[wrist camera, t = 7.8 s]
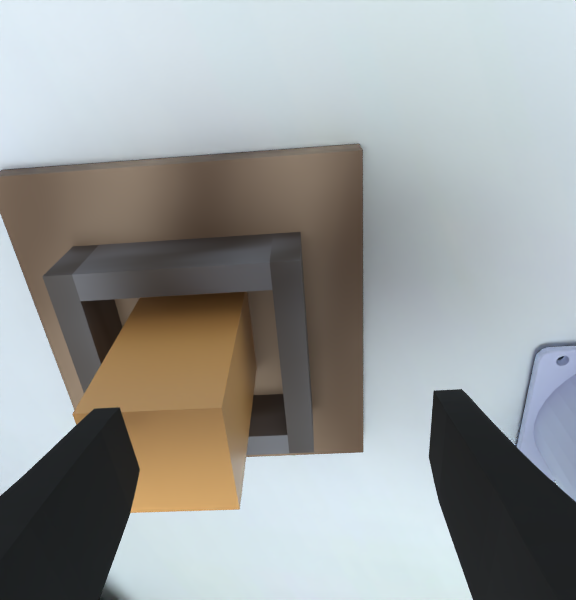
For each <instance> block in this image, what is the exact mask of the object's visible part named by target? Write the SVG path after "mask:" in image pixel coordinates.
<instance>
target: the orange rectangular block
mask: <svg viewBox="0 0 576 600" xmlns="http://www.w3.org/2000/svg"><path fill="white" fill-rule="evenodd" d="M256 371H257V365H256V357H255V349H254V341H253V333H252V325H251V317H250V309H249V301H248V293H247V292H230V293H213V294H196V295H179V296H162V297H145V298H139V300H138V302H137V304H136V305H135V307H134V309H133V311H132V312H131V314H130V316H129V317H128V319H127V321H126V323H125V324H124V326H123V328H122V329H121V331H120V333H119V335H118V336H117V338H116V340H115V342H114V343H113V345H112V347H111V348H110V350H109V352H108V354H107V355H106V357H105V359H104V361H103V362H102V364H101V366H100V367H99V369H98V371H97V373H96V374H95V376H94V378H93V380H92V381H91V383H90V385H89V386H88V388H87V390H86V392H85V393H84V395H83V397H82V399H81V400H80V402H79V404H78V405H77V407H76V409H75V411H74V412H73V417H74V419H75V422H76V425H77V424H78V423H79V422H80V421H81V420H82V419H83V418H84V417H86V416H87V415H88V414H89V413H90V412H91V411H92V410H93V409H96V408H115V407H120V410H121V413H122V416H123V419H124V422H125V425H126V428H127V431H128V434H129V437H130V440H131V443H132V446H133V449H134V452H135V455H136V458H137V462H138V465H139V468H140V472H139V477H138V482H137V487H136V491H135V496H134V500H133V504H132V508H131V512H130V513H137V512H169V511H202V510H234V509H240V502H241V494H242V486H243V478H244V469H245V461H246V453H247V445H248V437H249V428H250V420H251V412H252V404H253V395H254V387H255V379H256Z"/></svg>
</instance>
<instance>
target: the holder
mask: <svg viewBox="0 0 576 600" xmlns="http://www.w3.org/2000/svg"><path fill="white" fill-rule="evenodd" d="M0 214H1V216H2V219H3V222H4V224H5V227H6V229H7V232H8V235H9V237H10V240H11V243H12V245H13V248H14V251H15V253H16V256H17V259H18V261H19V264H20V267H21V269H22V272H23V275H24V277H25V280H26V283H27V285H28V288H29V291H30V293H31V296H32V299H33V301H34V304H35V306H36V309H37V312H38V314H39V317H40V320H41V322H42V325H43V328H44V330H45V333H46V336H47V338H48V341H49V344H50V346H51V349H52V352H53V354H54V357H55V360H56V362H57V365H58V368H59V370H60V373H61V376H62V378H63V381H64V383H65V386H66V389H67V391H68V394H69V397H70V399H71V402H72V405H73V407H74V410H75V409H76V407H77V405H78V404H79V402H80V400H81V399H82V397H83V395H84V393H85V392H86V390H87V388H88V386H89V385H90V383H91V381H92V380H93V378H94V376H95V374H96V373H97V371H98V369H99V367H100V366H101V364H102V362H103V361H104V359H105V357H106V355H107V354H108V352H109V350H110V348H111V347H112V345H113V343H114V342H115V340H116V338H117V336H118V335H119V333H120V331H121V329H122V328H123V326H124V324H125V323H126V321H127V319H128V317H129V316H130V314H131V312H132V311H133V309H134V307H135V305H136V304H137V302H138V300H139V298H145V297H162V296H179V295H196V294H213V293H230V292H247V293H248V301H249V309H250V317H251V325H252V333H253V341H254V349H255V357H256V365H257V371H256V379H255V387H254V395H253V404H252V412H251V420H250V428H249V437H248V445H247V453H246V457H256V456H281V455H306V454H331V453H356V452H363V150H362V148H361V146H360V144H350V145H336V146H322V147H309V148H295V149H282V150H268V151H254V152H241V153H227V154H214V155H200V156H186V157H173V158H159V159H146V160H132V161H118V162H105V163H91V164H78V165H64V166H50V167H37V168H23V169H10V170H1V171H0Z"/></svg>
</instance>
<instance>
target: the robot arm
mask: <svg viewBox="0 0 576 600" xmlns="http://www.w3.org/2000/svg"><path fill="white" fill-rule="evenodd" d="M561 356H564V357H563V358H562V359H561V360H557V359H558V358H559V357H561ZM429 460H430V464H431V469H432V473H433V478H434V483H435V487H436V491H437V495H438V500H439V503H440V506H441V509H442V512H443V515H444V518H445V521H446V523H447V526H448V529H449V532H450V535H451V538H452V541H453V544H454V547H455V549H456V552H457V555H458V558H459V561H460V564H461V567H462V569H463V572H464V575H465V578H466V581H467V584H468V587H469V589H470V592H471V595H472V598H473V600H576V346H561V347H547V348H544V349H542V350H540V351H539V352H538V353H537V355H536V357H535V361H534V366H533V371H532V376H531V380H530V385H529V390H528V395H527V400H526V404H525V409H524V414H523V419H522V424H521V429H520V433H519V438H518V443H517V447H516V446H515V445H514V444H513V443H512V442H511V441H510V440H509V439H508V438H507V437H506V436H505V435H504V434H503V433H502V432H501V431H500V430H499V428H498V427H497V426H496V425H495V424H494V423H493V422H492V421H491V420H490V419H489V418H488V417H487V416H486V415H485V414H484V412H483V411H482V410H481V409H480V408H479V407H478V406H477V405H476V404H475V403H474V401H473V400H472V399H471V398H470V397H469V396H468V395H467V394H466V393H465V392H464V391H463V390H462V389H459V390H439V391H434V395H433V408H432V422H431V435H430V448H429ZM139 472H140V468H139V465H138V462H137V458H136V455H135V452H134V449H133V446H132V443H131V440H130V437H129V434H128V431H127V428H126V425H125V422H124V419H123V416H122V413H121V410H120V407H115V408H96V409H93V410H92V411H91V412H90V413H89V414H88V415H87V416H86V417H84V418H83V419H82V420H81V421H80V422H79V423H78V424H77V425H76V426H75V427H74V428H73V429H72V430H71V431H70V432H69V433H68V434H67V435H66V436H65V437H64V438H63V439H61V440H60V441H59V442H58V443H57V444H56V445H55V446H54V447H53V448H52V449H51V450H50V451H49V452H48V453H47V454H46V455H45V456H44V457H43V458H42V459H41V460H39V461H38V462H37V463H36V464H35V465H34V466H33V467H32V468H31V469H30V470H29V471H28V472H27V473H26V474H25V475H24V476H22V477H21V478H20V479H19V480H18V481H17V482H16V483H15V484H13V485H12V486H11V487H10V488H9V489H8V490H7V491H5V492H4V493H3V494H2V495H1V496H0V600H99V598H100V595H101V593H102V590H103V587H104V584H105V582H106V579H107V576H108V574H109V571H110V568H111V565H112V563H113V560H114V557H115V554H116V552H117V549H118V546H119V543H120V541H121V538H122V535H123V532H124V529H125V527H126V524H127V521H128V518H129V515H130V512H131V508H132V504H133V500H134V496H135V491H136V487H137V482H138V477H139ZM553 481H556V482H557V484H558V486H559V487H558V486H557V485H556V484H555V483H554V482H553Z"/></svg>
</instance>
